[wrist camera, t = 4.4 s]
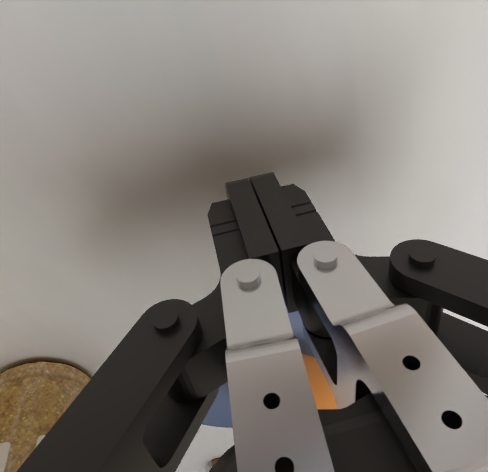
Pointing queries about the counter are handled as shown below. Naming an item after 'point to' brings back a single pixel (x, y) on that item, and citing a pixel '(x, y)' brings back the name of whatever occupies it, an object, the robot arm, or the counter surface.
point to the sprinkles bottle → (33, 406)
